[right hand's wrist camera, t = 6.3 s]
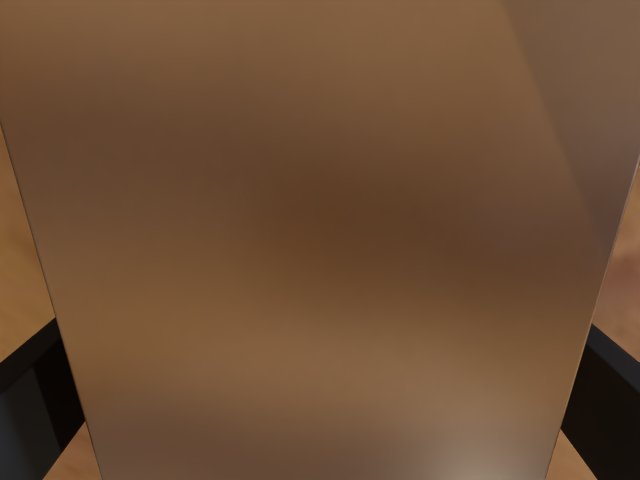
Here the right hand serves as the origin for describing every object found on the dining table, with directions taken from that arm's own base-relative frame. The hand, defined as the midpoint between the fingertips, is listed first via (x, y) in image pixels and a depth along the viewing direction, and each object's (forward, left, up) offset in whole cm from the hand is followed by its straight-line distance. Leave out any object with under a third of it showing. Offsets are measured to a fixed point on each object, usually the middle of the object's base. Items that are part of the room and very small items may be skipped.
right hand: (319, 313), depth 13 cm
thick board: (-8, -24, -2) cm, 25 cm away
